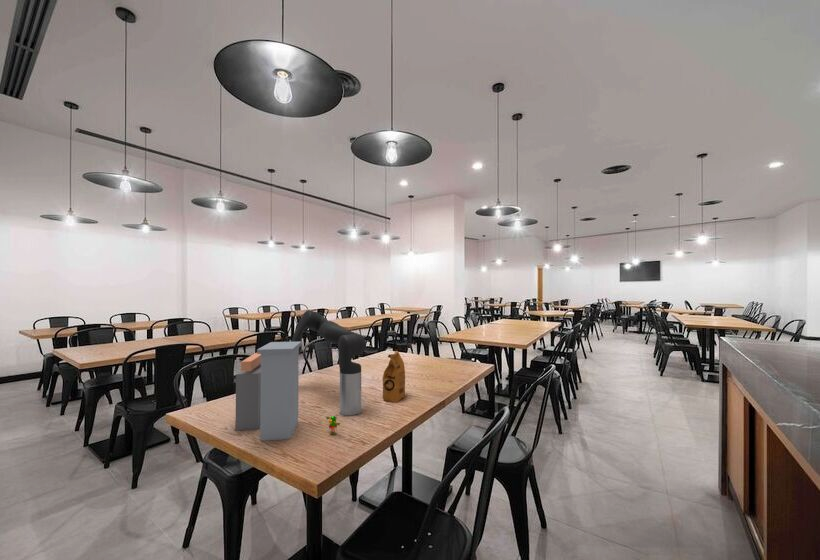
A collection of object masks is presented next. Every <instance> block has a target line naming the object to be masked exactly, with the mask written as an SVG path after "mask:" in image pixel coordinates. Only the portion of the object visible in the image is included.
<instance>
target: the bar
mask: <svg viewBox="0 0 820 560" xmlns="http://www.w3.org/2000/svg"><path fill="white" fill-rule="evenodd" d="M260 364H261V354H257V353H256V352H255V353H253V354H252V355H250V356H248V357H246V358H245V359H243V360H242V361H241V362H240V371H251V370H253V369H254V368H255V367H257V366H258V365H260Z"/></svg>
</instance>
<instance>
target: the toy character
mask: <svg viewBox="0 0 820 560" xmlns="http://www.w3.org/2000/svg"><path fill="white" fill-rule="evenodd" d="M325 418H326V420H328V423H329V424H328V425H329V426H328V428H329V429H330V430H331V431H330V434H332V435H333V436H336V435H337V433H336V431H335V430H336V429H337V427H338V426H339V427H340V426H341V425H342V423H341V422H337V419H338V418H337V416H335V415H332V416H325Z"/></svg>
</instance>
